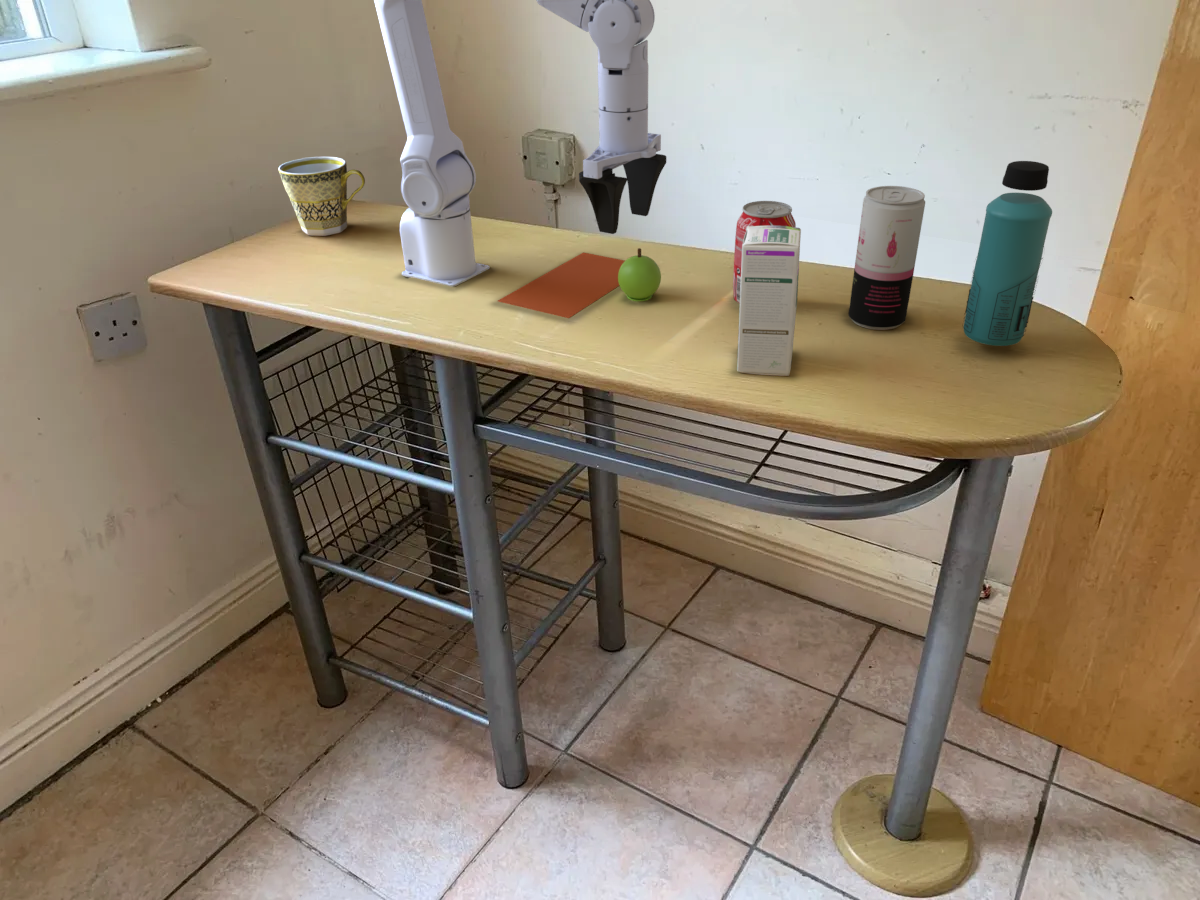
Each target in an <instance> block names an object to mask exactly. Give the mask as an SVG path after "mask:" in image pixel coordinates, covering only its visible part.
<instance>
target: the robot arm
mask: <svg viewBox="0 0 1200 900" xmlns="http://www.w3.org/2000/svg"><path fill="white" fill-rule="evenodd" d="M373 2H374V5H375V10H376V14H377V18H378V22H379V27H380V30H381V34H382V39H383V43H384V46H385V50H386V55H387V59H388V62H389V67H390V72H391V75H392V80H393V83H394V87H395V92H396V96H397V100H398V104H399V108H400V113H401V117H402V121H403V125H404V129H405V134H406V137H407V139H406V142H405V145H404V148H403V150H402V153H401V155H400V158H399V162H400V166H401V171H402V175H401V176H402V178H401V182H400V193H401V196H402V198H403V201H404V203H405V204H406V206H407V208H406V210H405V211H404V212H403V214H402V215H401V219H400V222H399V236H400V242H401V248H402V255H403V262H404V269H405V270H403V271H402V272H401V276H403V277H405V278H414V279H418V280H422V281H426V282H430V283H434V284H439V285H443V286H447V287H452V288H454V287H457V286H459V285H460V284H463V283H464V282H467V281H468V280H470V279H473V278H475V277H476V276H478V275H480V274H482V273H484V272H486V271H487V270H490V268H491V267H490V265H487V264H483V263H478V262H477V261H476V252H475V243H474V234H473V225H472V223H473V222H472V215H471V205H470V203H471V202H470V194H471V193H472V192H473V191H474V188H475V186H476V183H477V182H476V181H477V173H476V170H475V166H474V165H473V163H472V161H471V160H470V158H468V156H467V153H466V151H465V148H464V143H463V140H462V139H461V138H460V137H459V136H458V135H456V133H455V132H453V130H451V128H450V122H449V119H448V114H447V110H446V105H445V101H444V95H443V91H442V86H441V82H440V78H439V74H438V69H437V64H436V60H435V55H434V50H433V46H432V40H431V37H430V32H429V27H428V23H427V19H426V14H425V10H424V5H423V0H373ZM536 3H537V5H539V6H541V7H543V8H544V9H546V10H548V11H549V12H551V13H553V14H554V15H556V16H558V17H560V18H561V19H563V20H565V21H567V22H568V23H570V24H572V25H574V26H575V27H577V28H579V29H581V30H582V31H584V32H585V33H589V35H590V38H591V40H592V42H593V43H594V44H595V46H596V47H597V88H598V89H597V91H598V92H597V93H598V94H597V97H598V99H597V101H598V140H599V143H598V146H597V147H596V148H595V149H594V150H593V152H592V153H591V154H590V155H589V156H588V157H587V158H584V159H583V160H582V171H580V172H579V173H578V181H579V183H580V185H581V186H582V188H583V189H584V192H585V193H586V196H587V197H588V199H589V201H590V204H591V207H592V209H593V213H594V217H595V221H596V224H597V227H598V231H599V232H600V233H603V234H610V235H614V234H616V233H618V228H619V221H620V220H619V219H620V206H621V200H622V197H623V192H624V189H625V187H626V184H627V188H628V200H629V208H630V212H631V214H632V215H636V216H642V217H647V216H649V213H650V209H651V205H652V202H653V197H654V193H655V191H656V190H655V189H656V186H657V183H658V181H659V178H660V176H661V174H662V172H663V169H664V168H665V166H666V165H667V155H665V154H660V153H657V152H660V151H661V149H662V134H660V133H651V132H649V63H648V62H649V60H648V59H649V56H648V55H649V40H648V39H646V38H648V37H649V35H650V34H651V33H652V30H653V28H654V25H655V19H656V18H655V16H656V15H655V9H654V7H653V6H654V5H653V3H652V1H651V0H536ZM621 166H622V167H623V170H624V173H625V176H626V177H623V176H616V173H615V172H614V171H613V170H614V169H617V168H619V167H621Z"/></svg>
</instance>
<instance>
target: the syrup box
mask: <svg viewBox="0 0 1200 900" xmlns="http://www.w3.org/2000/svg"><path fill="white" fill-rule="evenodd" d="M801 235H802V229H801V228H800V227H789V226H774V225H773V226H768V225H767V226H747V229H746V233H745V236H744V239H743V244H742V264H741V285H740V304H739V310H738V335H737V357H736V359H737V360H736V371H737V372H738V373H742V374H749V375H762V376H779V377H781V376H782V377H785V376H786V377H789V376H790V373H791V368H792V363H793V351H794V339H795V329H796V328H795V327H796V317H797V307H798V306H797V305H798V293H799V292H798V291H799V276H800V275H799V274H800V252H801Z"/></svg>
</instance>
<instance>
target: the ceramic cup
mask: <svg viewBox="0 0 1200 900" xmlns="http://www.w3.org/2000/svg"><path fill="white" fill-rule="evenodd" d="M347 167H348V166H347V161H346V160H345V159H343V158H341V157H336V156H309V157H301V158H297V159H293V160H289V161H287V162H284V163H282V164H280V165H279V167H278V169H277V170H278V173H279V176H280V180H281V182H282V184H283V187H284V190H285V192H286V194H287V196H288V198H289V200H290V203H291V205H292V208H293V210H294V213H295V215H296V218H297V221H298V223H299V226H300V228H301V231H302V232H303V233H305V234H306V235H308V236H313V237H314V236H315V237H327V236H330V235H336V234H340V233H342V232H343V231H344V230H346V229H347V228H348V214H347V211H348V204H349V203H350V201H352V200H353V198H354V197H355V196H356V194H357V193H359V192H360V191H361V190H362V189H363V188H364V187H365V184H366V179H365V176H364V174H363V173H362V172H361V170H358V169H350V170H348V168H347ZM352 175H358V176H359V177H360V178H361V184H360V185H359V187H357V188H356V189H355V190H354V191H353V192H352V193H351V195H350V196H349V197H348V195H347V194H348V188H347V187H348V179H349V177H350V176H352Z"/></svg>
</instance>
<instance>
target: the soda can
mask: <svg viewBox="0 0 1200 900" xmlns="http://www.w3.org/2000/svg"><path fill="white" fill-rule="evenodd" d="M792 211H793V208H792V206H791V205H790V204H788V203H785V202H782V201H775V200H757V201H756V200H755V201H750V202H748V203H745V204H744V205H743V206H742V213H741V214H740V215H739V217H738V219H737V221H736V227H735V238H734V253H733V270H732V271H733V274H732V293H733V295H732V296H733V300H734V301H735V302H736V303H737V304H739V305H740V285H741V264H742V244H743V239H744V236H745V233H746V229H747V226H767V225H768V226H773V225H774V226H789V227H796V226H797V225H796V220H795V218H794V216H793V213H792Z"/></svg>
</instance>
